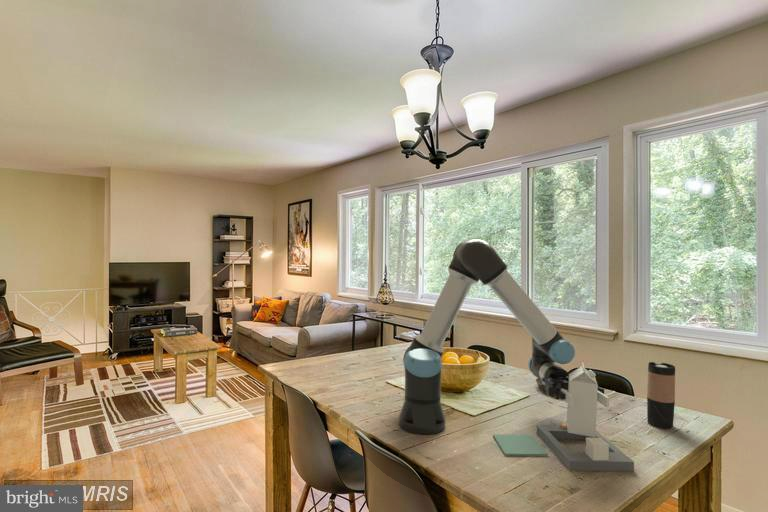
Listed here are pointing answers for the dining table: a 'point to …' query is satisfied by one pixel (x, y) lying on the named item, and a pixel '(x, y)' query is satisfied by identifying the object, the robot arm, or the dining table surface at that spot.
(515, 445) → the felt pad
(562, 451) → the grey open frame
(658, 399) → the travel mug
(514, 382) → the dining table surface
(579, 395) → the milk carton
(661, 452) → the dining table surface
